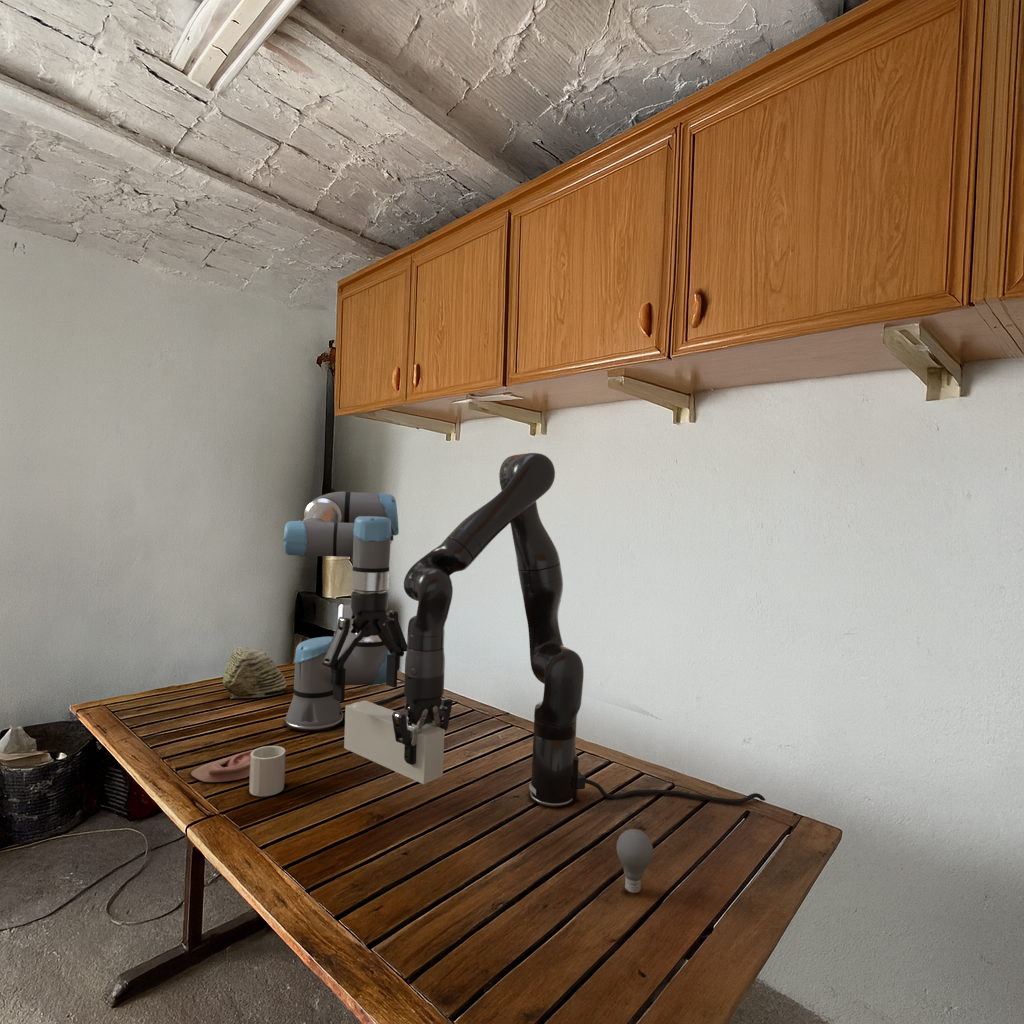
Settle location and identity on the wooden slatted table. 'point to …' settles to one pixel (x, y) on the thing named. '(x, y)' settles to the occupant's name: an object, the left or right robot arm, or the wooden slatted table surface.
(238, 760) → the anatomical model
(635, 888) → the light bulb
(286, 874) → the wooden slatted table surface
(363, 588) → the left robot arm
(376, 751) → the grey bar
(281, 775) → the white cup
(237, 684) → the fossil
